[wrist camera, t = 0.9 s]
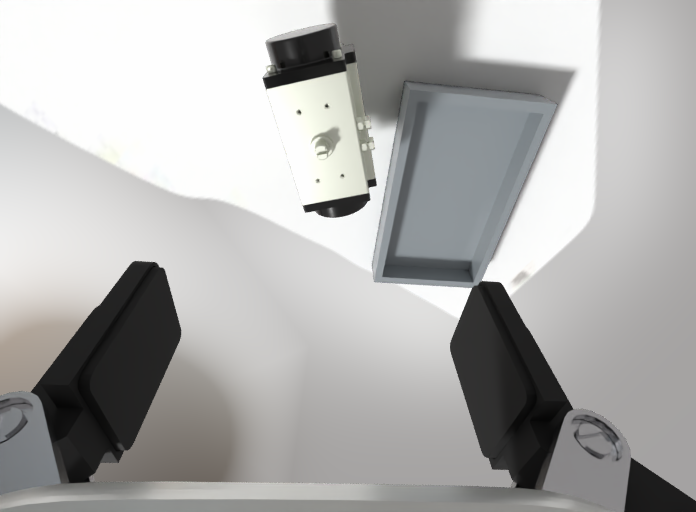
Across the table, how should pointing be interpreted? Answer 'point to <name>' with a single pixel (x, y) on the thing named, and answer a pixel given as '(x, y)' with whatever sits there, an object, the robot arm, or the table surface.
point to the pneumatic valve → (321, 119)
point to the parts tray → (454, 181)
